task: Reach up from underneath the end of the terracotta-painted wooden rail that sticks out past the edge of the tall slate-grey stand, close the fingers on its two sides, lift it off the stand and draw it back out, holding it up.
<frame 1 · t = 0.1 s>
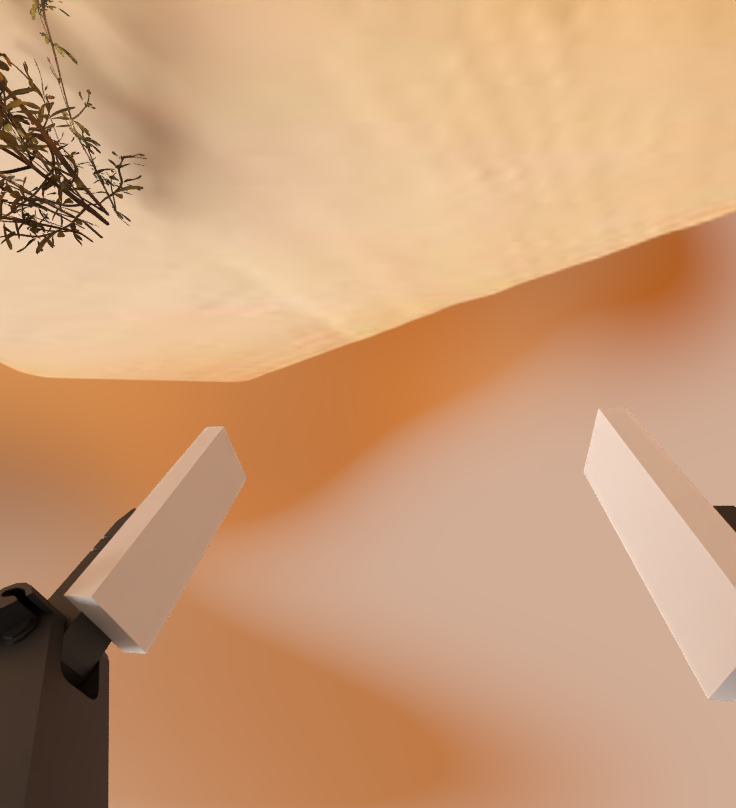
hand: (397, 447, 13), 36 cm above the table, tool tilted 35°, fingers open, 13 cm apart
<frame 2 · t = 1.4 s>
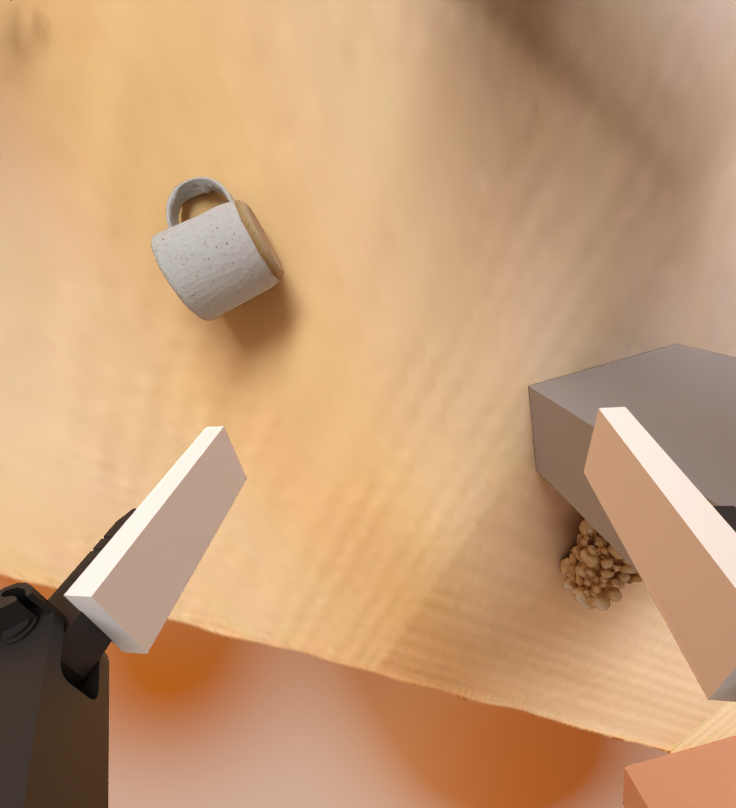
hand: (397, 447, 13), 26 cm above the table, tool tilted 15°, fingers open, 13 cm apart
mineral formation: (596, 531, 52), on the table
stand: (602, 410, 44), on the table
ceramic mug: (224, 248, 34), on the table
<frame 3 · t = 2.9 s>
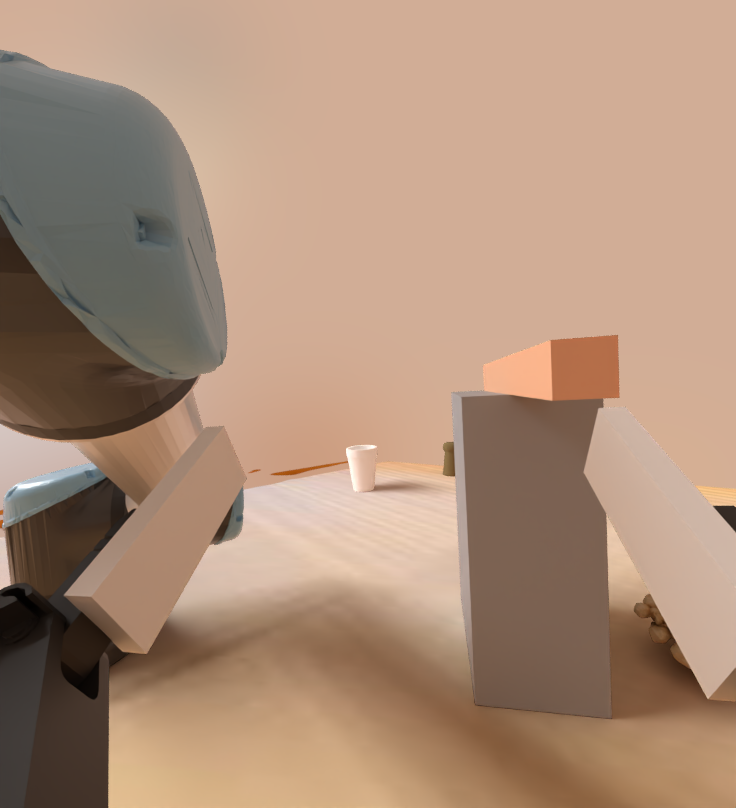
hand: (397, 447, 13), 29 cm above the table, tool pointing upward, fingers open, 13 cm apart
rail: (523, 392, 34), point 30 cm above the table, touching stand
foam cup: (363, 489, 111), on the table
mineral formation: (718, 663, 38), on the table
stand: (518, 643, 42), on the table
olive pepper mill: (452, 474, 123), on the table
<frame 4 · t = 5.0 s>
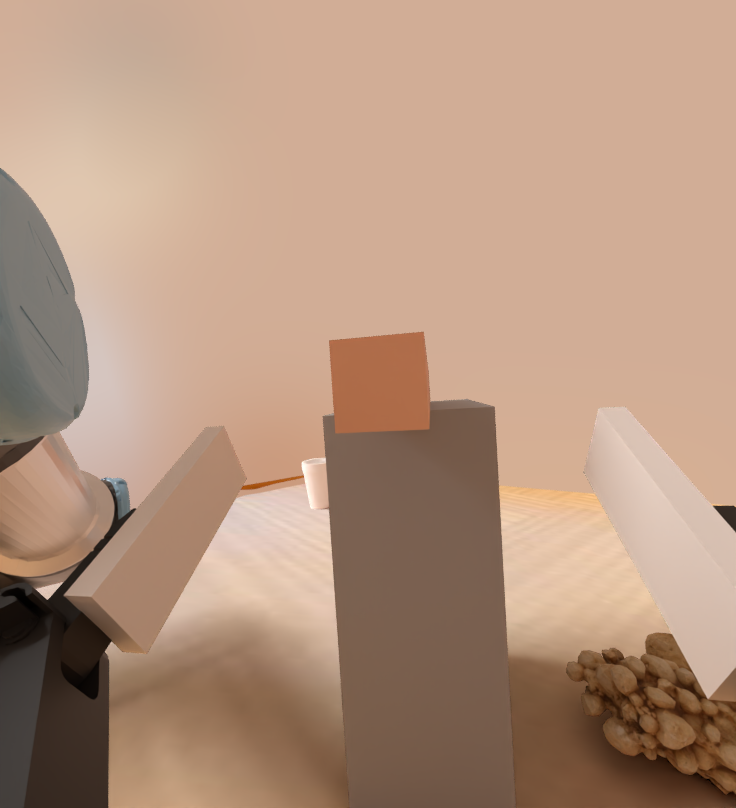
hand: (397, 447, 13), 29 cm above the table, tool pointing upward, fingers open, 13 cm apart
rail: (406, 409, 27), point 30 cm above the table, touching stand
foam cup: (321, 506, 103), on the table
mineral formation: (665, 741, 31), on the table
stand: (430, 713, 35), on the table
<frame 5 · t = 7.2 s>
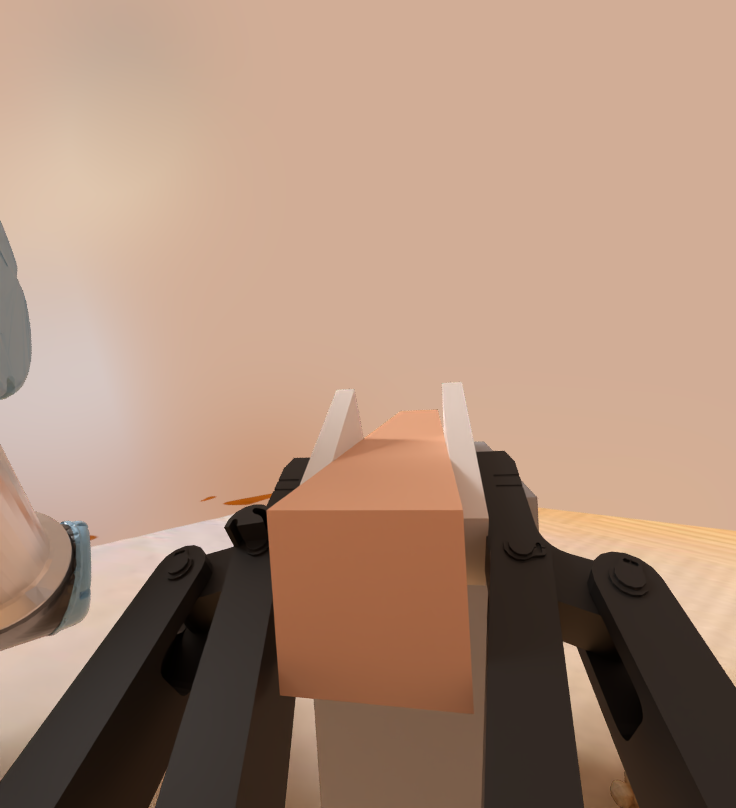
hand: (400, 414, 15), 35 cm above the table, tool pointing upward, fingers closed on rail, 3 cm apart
rail: (413, 487, 20), point 30 cm above the table, touching gripper, stand
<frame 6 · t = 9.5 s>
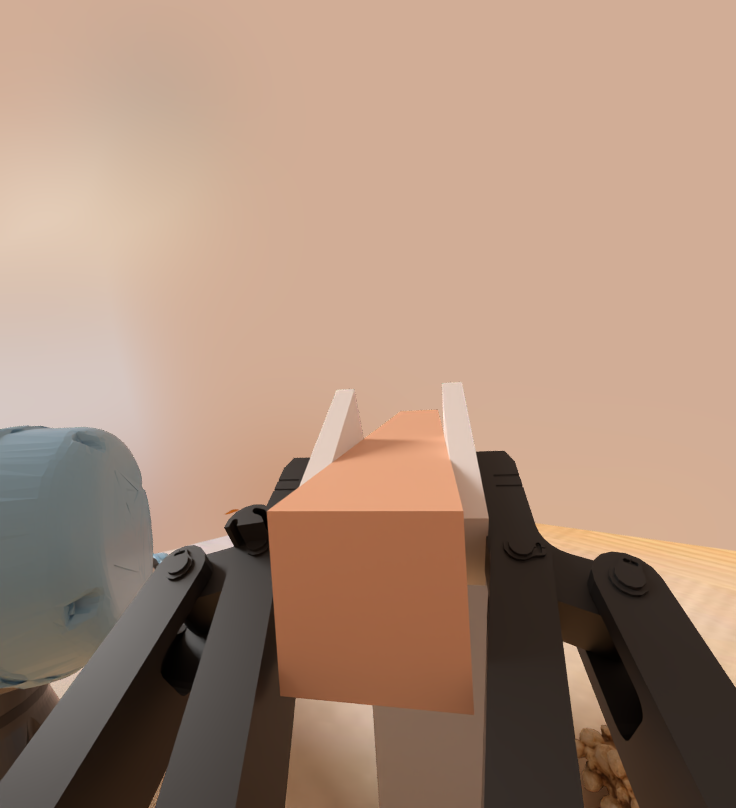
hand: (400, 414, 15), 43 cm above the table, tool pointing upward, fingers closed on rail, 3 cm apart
rail: (413, 487, 20), point 38 cm above the table, touching gripper
stand: (449, 785, 39), on the table
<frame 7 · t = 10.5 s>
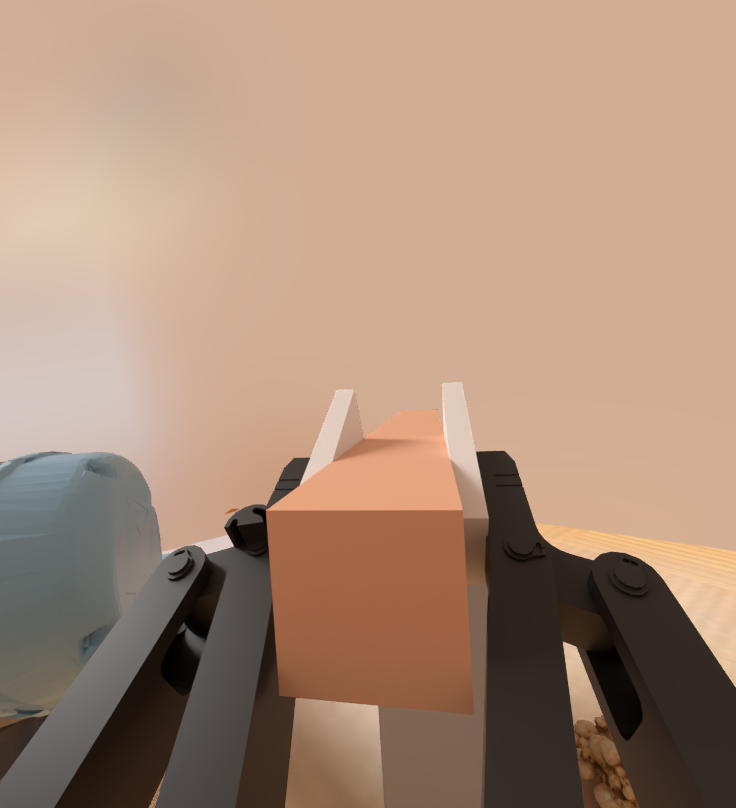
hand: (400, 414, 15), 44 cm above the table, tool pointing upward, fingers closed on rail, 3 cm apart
rail: (413, 487, 20), point 39 cm above the table, touching gripper
mineral formation: (645, 799, 38), on the table
stand: (450, 776, 41), on the table
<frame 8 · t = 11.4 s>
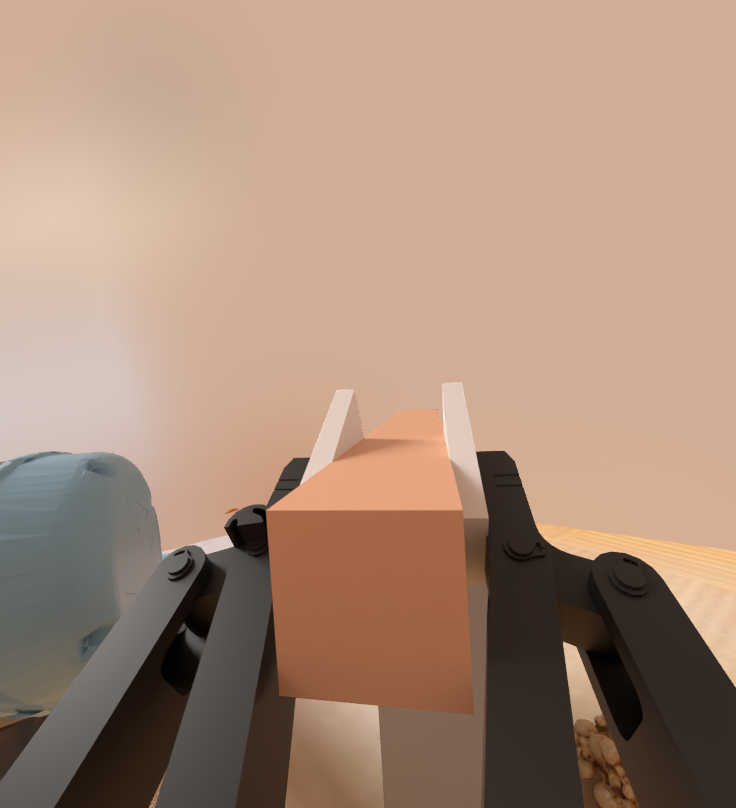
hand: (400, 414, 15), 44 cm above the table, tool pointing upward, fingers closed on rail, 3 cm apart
rail: (413, 487, 20), point 39 cm above the table, touching gripper
mineral formation: (645, 798, 38), on the table
stand: (450, 776, 41), on the table
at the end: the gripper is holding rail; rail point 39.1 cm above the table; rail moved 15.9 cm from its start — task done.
